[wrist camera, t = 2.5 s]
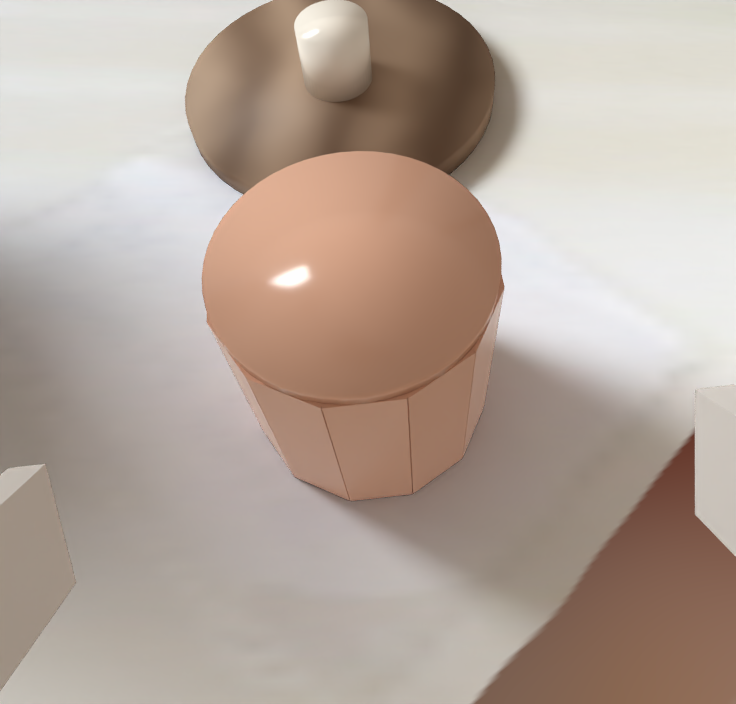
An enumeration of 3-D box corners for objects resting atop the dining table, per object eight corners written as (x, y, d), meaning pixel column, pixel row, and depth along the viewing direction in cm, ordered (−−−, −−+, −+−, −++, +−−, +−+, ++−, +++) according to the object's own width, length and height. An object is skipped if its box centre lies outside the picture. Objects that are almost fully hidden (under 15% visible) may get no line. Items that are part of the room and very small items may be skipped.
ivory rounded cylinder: (305, 105, 43) (295, 50, 40) (302, 60, 46) (292, 4, 42) (375, 97, 43) (370, 41, 40) (368, 52, 46) (364, -5, 42)
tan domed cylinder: (264, 510, 32) (196, 412, 23) (261, 313, 38) (206, 168, 28) (499, 484, 32) (529, 374, 22) (462, 290, 38) (474, 136, 28)
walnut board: (185, 231, 41) (177, 214, 40) (197, 22, 51) (191, 3, 50) (520, 191, 41) (523, 173, 39) (466, -12, 51) (467, -32, 49)
